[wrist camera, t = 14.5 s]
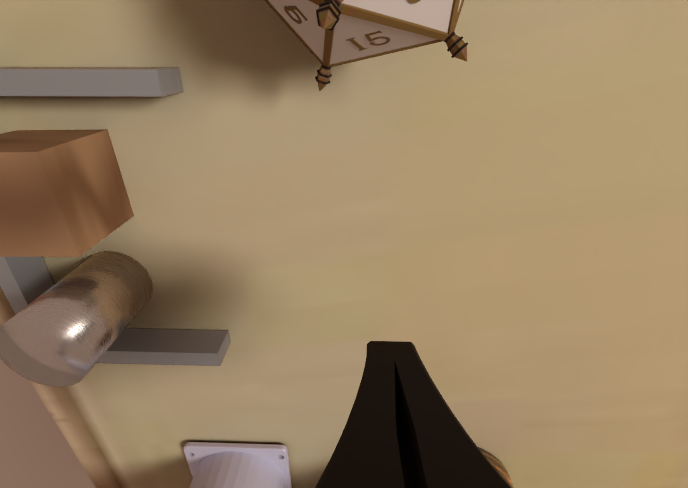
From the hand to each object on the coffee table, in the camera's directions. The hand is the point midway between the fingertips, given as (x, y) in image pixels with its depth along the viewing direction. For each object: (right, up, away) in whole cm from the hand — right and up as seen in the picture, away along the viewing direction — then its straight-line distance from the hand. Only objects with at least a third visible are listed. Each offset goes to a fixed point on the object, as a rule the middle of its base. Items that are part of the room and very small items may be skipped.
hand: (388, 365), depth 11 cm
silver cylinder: (-15, +2, +10) cm, 18 cm away
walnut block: (-15, +7, +7) cm, 18 cm away
